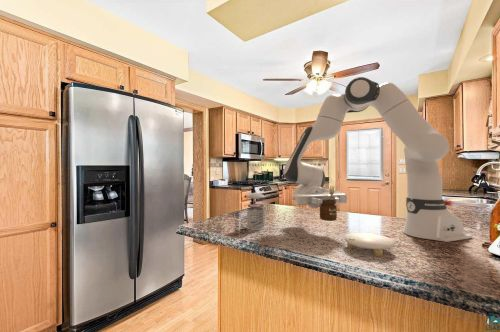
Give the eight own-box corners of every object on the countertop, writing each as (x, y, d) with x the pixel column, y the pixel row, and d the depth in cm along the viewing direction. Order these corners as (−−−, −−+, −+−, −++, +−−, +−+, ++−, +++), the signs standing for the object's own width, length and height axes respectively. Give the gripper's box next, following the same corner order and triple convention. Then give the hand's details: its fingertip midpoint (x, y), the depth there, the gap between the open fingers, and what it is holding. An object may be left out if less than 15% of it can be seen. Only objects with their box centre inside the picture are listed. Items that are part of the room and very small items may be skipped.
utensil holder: (316, 219, 89) (316, 186, 89) (325, 216, 93) (325, 185, 93) (331, 222, 84) (331, 187, 84) (340, 219, 89) (340, 186, 89)
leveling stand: (373, 241, 86) (373, 231, 86) (404, 256, 72) (404, 243, 72) (336, 243, 84) (336, 233, 84) (360, 259, 70) (360, 246, 70)
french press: (241, 226, 109) (241, 170, 109) (263, 223, 114) (263, 170, 114) (250, 231, 101) (250, 171, 101) (274, 228, 105) (274, 170, 105)
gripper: (289, 190, 100) (301, 193, 86) (336, 188, 103) (354, 191, 89) (289, 205, 100) (301, 211, 86) (336, 203, 103) (355, 209, 89)
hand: (329, 201), depth 88 cm, fingers closed on utensil holder, 5 cm apart
